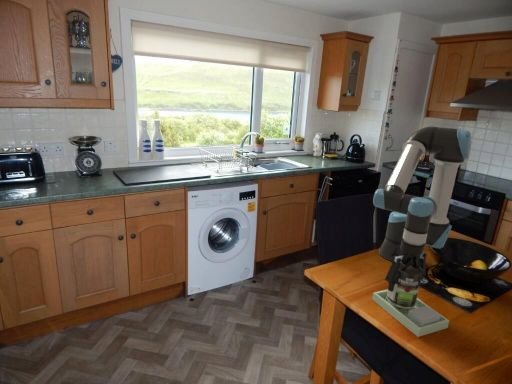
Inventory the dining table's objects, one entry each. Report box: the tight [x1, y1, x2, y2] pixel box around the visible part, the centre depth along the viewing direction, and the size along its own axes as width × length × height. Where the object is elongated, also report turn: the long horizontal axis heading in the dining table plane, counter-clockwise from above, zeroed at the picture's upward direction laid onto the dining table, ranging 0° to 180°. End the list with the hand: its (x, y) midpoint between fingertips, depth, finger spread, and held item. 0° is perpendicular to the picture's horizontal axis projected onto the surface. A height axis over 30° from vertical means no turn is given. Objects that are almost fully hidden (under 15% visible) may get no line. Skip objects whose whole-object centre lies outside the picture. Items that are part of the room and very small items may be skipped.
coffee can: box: [386, 263, 423, 309], centre depth 125 cm, size 10×10×14 cm
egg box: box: [408, 306, 440, 328], centre depth 118 cm, size 8×6×4 cm
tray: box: [371, 289, 450, 338], centre depth 124 cm, size 14×22×4 cm, turn 23°
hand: (401, 295), depth 126 cm, fingers closed on coffee can, 10 cm apart
